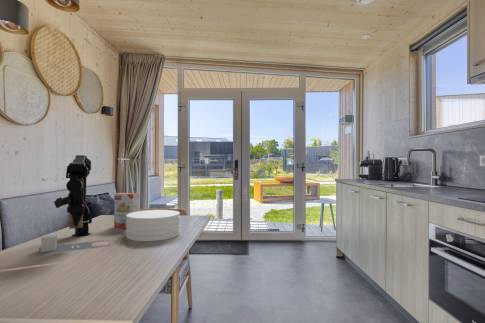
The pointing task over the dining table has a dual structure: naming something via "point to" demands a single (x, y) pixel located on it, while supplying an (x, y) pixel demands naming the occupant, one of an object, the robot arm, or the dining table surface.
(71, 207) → the robot arm
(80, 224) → the walnut block
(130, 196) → the cracker box
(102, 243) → the board
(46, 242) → the grey block
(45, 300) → the dining table surface
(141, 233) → the plate stack
